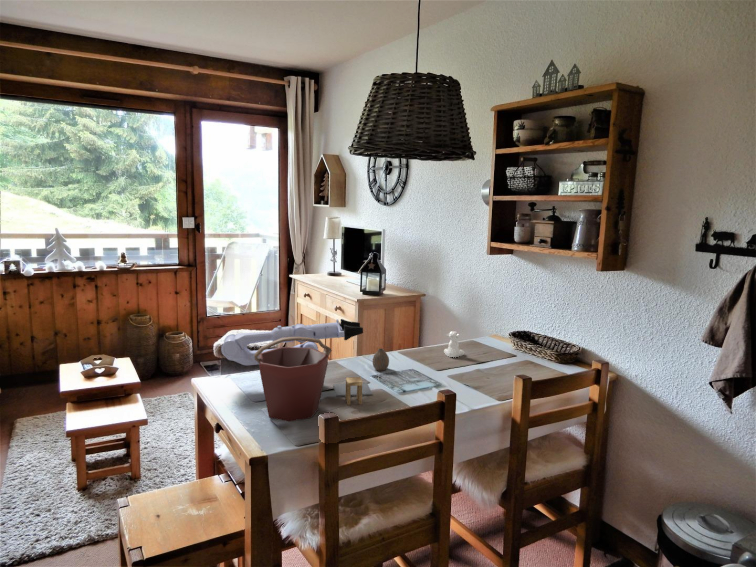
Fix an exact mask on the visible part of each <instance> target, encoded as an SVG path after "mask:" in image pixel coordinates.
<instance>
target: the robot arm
mask: <svg viewBox="0 0 756 567" xmlns="http://www.w3.org/2000/svg"><path fill="white" fill-rule="evenodd" d="M362 334H364V328H363V326H362V327H361V322H357V321H350V320H346V319H343V318H341V319H340V322H339V318H336V321H335V322H325V323H316V324H315V323H312V324H306V325H305V324H303V323H296V324H292V325H290V326H282V325H277V327H274V328H273V329H272V330H271V331H259V332H258V331H257V332H255V331H254V332H238V333H235V334H234V333H233V334H228V335H226V337H225V338H224V340H223V343H222V345H221V348H220V349H221V351H220V352H221V353H222V355H223V356H224V357H225V358H226V359H227V360H228V361H234V362H235V363H238V364H241V365H243V366H254V365H259V363H258V362H257V361H256V360H255V357H254V355H255V353H256V352H257V351H258V350H259V349H258V350H251V349H249V348H248V346H249V345H250V344H251V345H252V344H256V343H263V342H273V341H275V340H277V339H280V338H284V337H308V338H315V339H320V340H323V339H324V340H325V339H326V340H327V339H337V338H338V339H340V338H343V340H344V341H348V340H349V339H352V338H354V337H356V336H359V335H362ZM295 341H296V342H298V343H300V344H297V345H294V346H293V347H303V348H313V349H315V350H318V351H319V347H318V345H317V344H318V343H315V342H309V341H301V340H293V341H284V342H281V343H280V344H283V343H284V344H285V343H293V342H295ZM273 349H274V348H268V349H266V350H264V351H263V352H266V351H270V350H273ZM263 352H262V353H263ZM258 358H259V356H258Z"/></svg>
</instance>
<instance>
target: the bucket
mask: <svg viewBox="0 0 756 567" xmlns="http://www.w3.org/2000/svg"><path fill="white" fill-rule="evenodd" d="M293 340H301V341H306V342H307V341H309V342H314V343H316V344H318V345H319V346H320V347H321V348H322V349H323V351H320V350H319V349H318V350H315V349H313V348H303V347H294V346H290V347H289V346H281V347H277V348H272V349H273V350H270V351H266V352H263V351H264V350H266V349H271V347H274V346H276V345H278V344H282V343H281V342H284V341H291V342H292V341H293ZM293 342H294V341H293ZM262 352H263V353H262ZM331 353H332V348H330V346H328V345H326V344H324V343H323V342H322V340H321V339H315V338H308V337H284V338H280V339H277V340H275V341H269V343H266V344H264V345H262V346H261V347H259V349H258V351H257V352H256V353H255V355H254V357H255V360H256V361H257V362H258V363H259V364H258V367H259V374H260V380H261V384H262V389H263V393H264V394H263V395H264V399H265V403H266V409H267V414H268V418H271V419H276V420H278V421H279V420H280V421H283V422H288V423H291V422H296V421H301V420H306V419H312V418H313V416H314V415H315V414H316V412H317V411H318V410H319V407H320V402H321V397H322V393H323V389H324V382H325V378H326V375H327V371H328V370H327V369H328V365H329V356H330V354H331ZM258 356H259V358H258Z"/></svg>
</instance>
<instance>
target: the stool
mask: <svg viewBox="0 0 756 567" xmlns="http://www.w3.org/2000/svg"><path fill="white" fill-rule="evenodd" d="M362 383H363V380H362V377H361V376H355V377H354V376H353V377H345V384H346V397H345V401H346V404H347V406H350V405H351V396H350V395H351V386H357V396H356V400H357V401H358V405H362V404H363V396H362Z"/></svg>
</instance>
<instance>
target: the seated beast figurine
mask: <svg viewBox="0 0 756 567" xmlns="http://www.w3.org/2000/svg"><path fill="white" fill-rule="evenodd" d="M459 336H460V333H458V332H457V331H456V330H452V331H450V332H449V333H446V337H447V338H448V339H449V343H448V346H447V348H444V350H443V353H445V356H446V357H448V356H449V357H448V358H450V357H453V358H452V359H457V358H456V357H458V358H459V356H460V357H462V356H463V355H464V354H465V352H466V351H464V350H463V349H460V345H459V341H458V339H459ZM454 357H455V358H454Z"/></svg>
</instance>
